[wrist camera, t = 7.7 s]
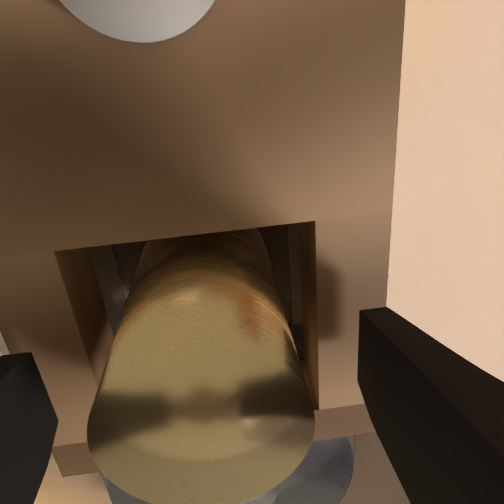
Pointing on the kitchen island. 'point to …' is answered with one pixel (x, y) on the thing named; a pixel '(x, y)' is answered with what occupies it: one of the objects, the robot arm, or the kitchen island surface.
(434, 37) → the kitchen island surface
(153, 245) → the brass pin
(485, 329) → the kitchen island surface
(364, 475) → the kitchen island surface
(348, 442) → the dark steel end link
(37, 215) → the walnut end link
